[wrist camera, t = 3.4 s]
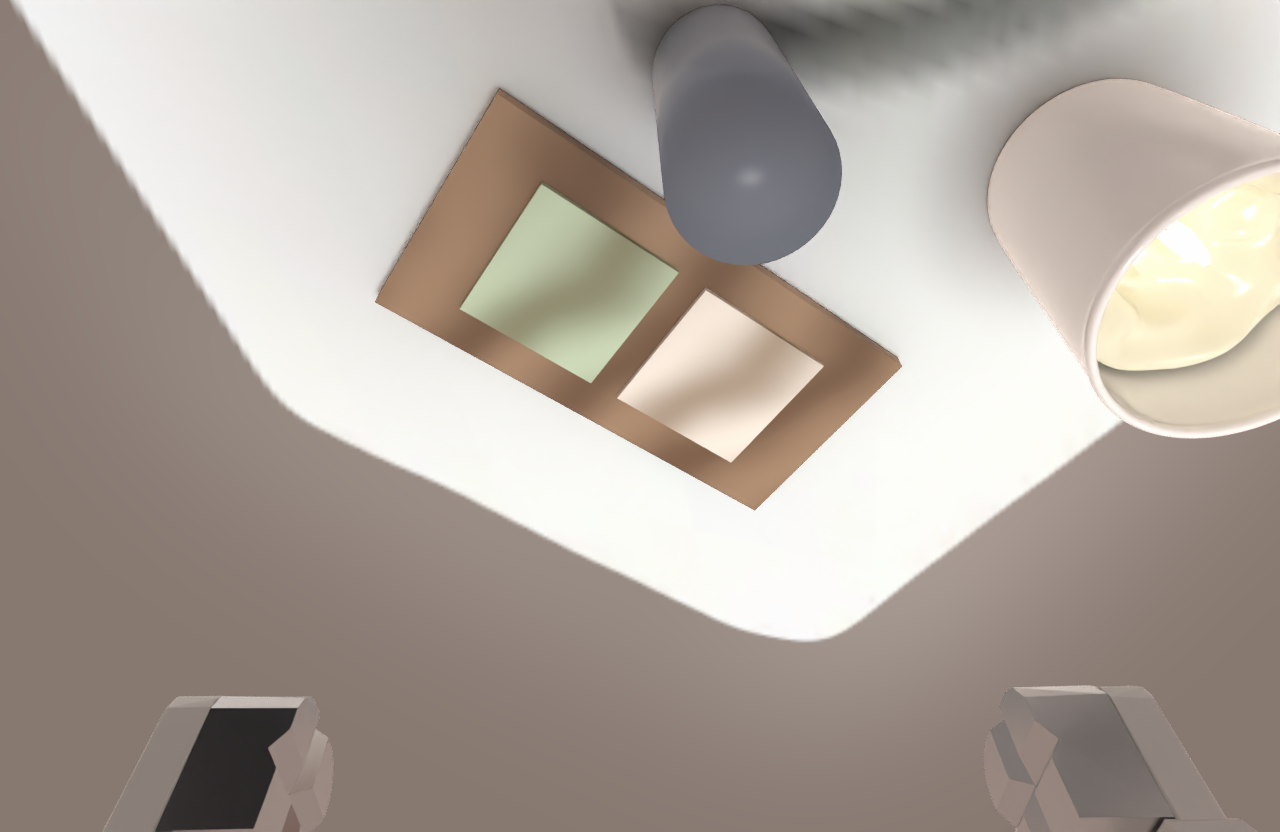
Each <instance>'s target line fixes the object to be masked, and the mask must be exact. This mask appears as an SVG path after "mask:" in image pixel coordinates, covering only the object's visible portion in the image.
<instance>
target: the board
mask: <svg viewBox="0 0 1280 832" xmlns="http://www.w3.org/2000/svg"><path fill="white" fill-rule="evenodd" d="M375 302H376V303H378V304H380V305H381V306H383V307H385V308H387V309H389V310H390V311H392V312H394V313H396V314H398V315H400V316H401V317H403V318H405V319H407V320H409V321H411V322H412V323H414V324H416V325H418V326H420V327H421V328H423V329H425V330H427V331H429V332H431V333H432V334H434V335H436V336H438V337H440V338H442V339H443V340H445V341H447V342H449V343H451V344H452V345H454V346H456V347H458V348H460V349H462V350H463V351H465V352H467V353H469V354H471V355H472V356H474V357H476V358H478V359H480V360H482V361H483V362H485V363H487V364H489V365H491V366H493V367H494V368H496V369H498V370H500V371H502V372H503V373H505V374H507V375H509V376H511V377H513V378H514V379H516V380H518V381H520V382H522V383H524V384H525V385H527V386H529V387H531V388H533V389H534V390H536V391H538V392H540V393H542V394H544V395H545V396H547V397H549V398H551V399H553V400H555V401H556V402H558V403H560V404H562V405H564V406H565V407H567V408H569V409H571V410H573V411H575V412H576V413H578V414H580V415H582V416H584V417H585V418H587V419H589V420H591V421H593V422H595V423H596V424H598V425H600V426H602V427H604V428H606V429H607V430H609V431H611V432H613V433H615V434H616V435H618V436H620V437H622V438H624V439H626V440H627V441H629V442H631V443H633V444H635V445H637V446H638V447H640V448H642V449H644V450H646V451H647V452H649V453H651V454H653V455H655V456H657V457H658V458H660V459H662V460H664V461H666V462H668V463H669V464H671V465H673V466H675V467H677V468H678V469H680V470H682V471H684V472H686V473H688V474H689V475H691V476H693V477H695V478H697V479H699V480H700V481H702V482H704V483H706V484H708V485H709V486H711V487H713V488H715V489H717V490H719V491H720V492H722V493H724V494H726V495H728V496H729V497H731V498H733V499H735V500H737V501H739V502H740V503H742V504H744V505H746V506H748V507H750V508H751V509H753V510H756V509H757V508H758V507H759V506H760V505H761V504H762V503H763V502H764V501H765V500H766V499H767V498H768V497H769V496H770V495H771V494H772V493H773V492H774V491H775V490H776V489H777V488H778V487H779V486H780V485H781V484H782V483H783V482H784V481H785V480H786V479H787V478H788V477H789V476H790V475H791V474H793V473H794V472H795V471H796V470H797V469H798V468H799V467H800V466H801V465H802V464H803V463H804V462H805V461H806V460H807V459H808V458H809V457H810V456H811V455H812V454H813V453H814V452H815V451H816V450H817V449H818V448H819V447H820V446H821V445H822V444H823V443H824V442H825V441H826V440H827V439H828V438H829V437H830V436H831V435H832V434H833V433H834V432H836V431H837V430H838V429H839V428H840V427H841V426H842V425H843V424H844V423H845V422H846V421H847V420H848V419H849V418H850V417H851V416H852V415H853V414H854V413H855V412H856V411H857V410H858V409H859V408H860V407H861V406H862V405H863V404H864V403H865V402H866V401H867V400H868V399H869V398H870V397H871V396H872V395H873V394H874V393H875V392H876V391H877V390H878V389H880V388H881V387H882V386H883V385H884V384H885V383H886V382H887V381H888V380H889V379H890V378H891V377H892V376H893V375H894V374H895V373H896V372H897V371H898V370H899V369H900V368H901V367H902V365H901V363H900V361H899V359H898V358H897V357H896V356H894V355H893V354H892V353H890V352H889V351H887V350H886V349H884V348H883V347H881V346H880V345H878V344H877V343H875V342H874V341H872V340H871V339H869V338H868V337H866V336H865V335H863V334H862V333H860V332H859V331H857V330H856V329H855V328H853V327H852V326H850V325H849V324H847V323H846V322H844V321H843V320H841V319H840V318H838V317H837V316H835V315H834V314H832V313H831V312H829V311H828V310H826V309H825V308H823V307H822V306H821V305H819V304H818V303H816V302H815V301H813V300H812V299H810V298H809V297H807V296H806V295H804V294H803V293H801V292H800V291H798V290H797V289H795V288H794V287H792V286H791V285H789V284H788V283H787V282H785V281H784V280H782V279H781V278H779V277H778V276H776V275H775V274H773V273H772V272H770V271H769V270H767V269H766V268H764V267H763V266H761V265H760V264H757V265H734V264H728V263H723V262H720V261H717V260H714V259H712V258H710V257H707V256H705V255H703V254H702V253H700V252H699V251H697V250H696V249H694V248H693V247H692V246H691V245H690V244H688V243H687V242H686V241H685V240H684V238H683V237H682V236H681V235H680V234H679V232H678V231H677V229H676V228H675V226H674V225H673V223H672V221H671V219H670V216H669V214H668V211H667V208H666V204H665V200H664V199H662V198H661V197H659V196H658V195H656V194H655V193H653V192H652V191H650V190H649V189H648V188H646V187H645V186H643V185H642V184H640V183H639V182H637V181H636V180H634V179H633V178H631V177H630V176H628V175H627V174H625V173H624V172H622V171H621V170H619V169H618V168H616V167H615V166H614V165H612V164H611V163H609V162H608V161H606V160H605V159H603V158H602V157H600V156H599V155H597V154H596V153H594V152H593V151H591V150H590V149H588V148H587V147H585V146H584V145H582V144H581V143H580V142H578V141H577V140H575V139H574V138H572V137H571V136H569V135H568V134H566V133H565V132H563V131H562V130H560V129H559V128H557V127H556V126H554V125H553V124H551V123H550V122H548V121H547V120H545V119H544V118H543V117H541V116H540V115H538V114H537V113H535V112H534V111H532V110H531V109H529V108H528V107H526V106H525V105H523V104H522V103H520V102H519V101H517V100H516V99H514V98H513V97H511V96H510V95H509V94H507V93H506V92H504V91H503V90H501V89H500V88H499V90H498V92H497V94H496V95H495V97H494V99H493V100H492V102H491V104H490V105H489V107H488V109H487V111H486V112H485V114H484V116H483V117H482V119H481V121H480V122H479V124H478V126H477V128H476V129H475V131H474V133H473V134H472V136H471V138H470V140H469V141H468V143H467V145H466V146H465V148H464V150H463V151H462V153H461V155H460V157H459V158H458V160H457V162H456V163H455V165H454V167H453V168H452V170H451V172H450V174H449V175H448V177H447V179H446V180H445V182H444V184H443V185H442V187H441V189H440V191H439V192H438V194H437V196H436V197H435V199H434V201H433V202H432V204H431V206H430V208H429V209H428V211H427V213H426V214H425V216H424V218H423V220H422V221H421V223H420V225H419V226H418V228H417V230H416V231H415V233H414V235H413V237H412V238H411V240H410V242H409V243H408V245H407V247H406V248H405V250H404V252H403V254H402V255H401V257H400V259H399V260H398V262H397V264H396V265H395V267H394V269H393V271H392V272H391V274H390V276H389V277H388V279H387V281H386V282H385V284H384V286H383V288H382V289H381V291H380V293H379V295H378V297H377V299H376V301H375Z"/></svg>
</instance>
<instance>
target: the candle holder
mask: <svg viewBox="0 0 1280 832" xmlns="http://www.w3.org/2000/svg"><path fill="white" fill-rule="evenodd" d="M988 214H989V219H990V223H991V226H992V229H993V231H994V234H995V236H996V238H997V240H998V241H999V243H1000V245H1001V247H1002V248H1003V250H1004V251H1005V253H1006V255H1007V256H1008V258H1009V259H1010V261H1011V262H1012V264H1013V265H1014V267H1015V268H1016V270H1017V271H1018V273H1019V274H1020V276H1021V277H1022V279H1023V280H1024V282H1025V283H1026V285H1027V286H1028V288H1029V289H1030V291H1031V292H1032V294H1033V295H1034V297H1035V298H1036V300H1037V301H1038V303H1039V304H1040V306H1041V307H1042V309H1043V310H1044V312H1045V313H1046V315H1047V316H1048V318H1049V319H1050V321H1051V322H1052V324H1053V325H1054V327H1055V328H1056V330H1057V331H1058V333H1059V334H1060V336H1061V337H1062V339H1063V340H1064V342H1065V343H1066V345H1067V346H1068V348H1069V349H1070V351H1071V352H1072V354H1073V355H1074V357H1075V358H1076V360H1077V361H1078V363H1079V364H1080V366H1081V367H1082V369H1083V370H1084V372H1085V373H1086V375H1087V376H1088V378H1089V381H1090V383H1091V385H1092V387H1093V389H1094V391H1095V392H1096V394H1097V395H1098V397H1099V398H1100V400H1101V401H1102V402H1103V403H1104V404H1105V406H1106V407H1107V408H1108V409H1109V410H1110V411H1111V412H1113V413H1114V414H1115V415H1116V416H1118V417H1119V418H1120V419H1122V420H1123V421H1125V422H1127V423H1129V424H1130V425H1132V426H1134V427H1136V428H1138V429H1141V430H1144V431H1147V432H1150V433H1153V434H1157V435H1162V436H1167V437H1176V438H1208V437H1217V436H1224V435H1229V434H1234V433H1239V432H1243V431H1246V430H1250V429H1253V428H1256V427H1259V426H1262V425H1265V424H1268V423H1271V422H1273V421H1276V420H1278V419H1280V133H1277V132H1275V131H1272V130H1270V129H1267V128H1265V127H1262V126H1260V125H1257V124H1255V123H1252V122H1250V121H1247V120H1245V119H1242V118H1239V117H1237V116H1234V115H1232V114H1229V113H1227V112H1224V111H1222V110H1219V109H1217V108H1214V107H1212V106H1209V105H1206V104H1204V103H1201V102H1199V101H1196V100H1194V99H1191V98H1189V97H1186V96H1183V95H1181V94H1178V93H1175V92H1173V91H1170V90H1167V89H1165V88H1162V87H1159V86H1156V85H1153V84H1150V83H1146V82H1142V81H1137V80H1131V79H1106V80H1099V81H1094V82H1090V83H1086V84H1083V85H1080V86H1077V87H1075V88H1072V89H1070V90H1068V91H1065V92H1063V93H1061V94H1060V95H1058V96H1056V97H1054V98H1053V99H1051V100H1049V101H1048V102H1046V103H1045V104H1044V105H1042V106H1041V107H1040V108H1038V109H1037V110H1036V111H1035V112H1033V113H1032V114H1031V115H1030V116H1029V117H1028V118H1027V119H1026V120H1025V121H1024V122H1023V123H1022V124H1021V125H1020V126H1019V127H1018V128H1017V129H1016V131H1015V132H1014V133H1013V134H1012V136H1011V137H1010V138H1009V140H1008V141H1007V143H1006V144H1005V146H1004V148H1003V149H1002V151H1001V153H1000V155H999V157H998V159H997V161H996V164H995V166H994V169H993V172H992V175H991V178H990V183H989V188H988Z"/></svg>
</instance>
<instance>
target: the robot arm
mask: <svg viewBox="0 0 1280 832" xmlns="http://www.w3.org/2000/svg"><path fill="white" fill-rule="evenodd" d="M999 708H1000V710H1001V713H1002V715H1003V718H1004V720H1003V721H1002V722H1000V723H999V724H998V725H996V726H995V727H993V728H992V729H990V731H989V734H988V737H987V740H986V743H985V746H984V771H985V776H986V780H987V785H988V790H989V792H990V795H991V798H992V801H993V803H994V806H995V809H996V811H998V812H999V813H1000V814H1001V815H1002V816H1003V817H1004V818H1005V819H1006V820H1007V821H1008V822H1009V823H1011V824H1012V825H1013V826H1014V827H1015V828H1016V829H1015V832H1257V831H1255V830H1254V829H1253V828H1252V827H1250V826H1249V825H1248V824H1246V823H1245V822H1244V821H1242V820H1241V819H1235V818H1226V817H1225V815H1224V813H1223V812H1222V810H1221V808H1220V807H1219V805H1218V803H1217V802H1216V800H1215V798H1214V797H1213V795H1212V793H1211V792H1210V790H1209V789H1208V787H1207V785H1206V783H1205V782H1204V780H1203V779H1202V777H1201V775H1200V774H1199V772H1198V770H1197V769H1196V767H1195V765H1194V764H1193V762H1192V760H1191V759H1190V757H1189V756H1188V754H1187V752H1186V750H1185V749H1184V747H1183V746H1182V744H1181V742H1180V741H1179V739H1178V737H1177V736H1176V734H1175V732H1174V731H1173V729H1172V728H1171V726H1170V724H1169V722H1168V721H1167V719H1166V718H1165V716H1164V714H1163V712H1162V711H1161V709H1160V708H1159V706H1158V704H1157V703H1156V701H1155V699H1154V698H1153V696H1152V695H1151V694H1150V693H1149V692H1147V690H1145V689H1144V688H1143V687H1140V686H1110V687H1094V686H1092V685H1091V686H1059V687H1058V686H1055V687H1018V688H1011V689H1010V690H1008V691H1007V692H1005V694H1004V696H1003V698H1002V700H1001V703H1000V705H999ZM319 717H320V712H319V710H318V708H317V705H316V703H315V700H314V698H313V697H240V696H237V697H236V696H235V697H234V696H229V697H228V696H179V697H177V698H176V699H175V700H174V701H173V702H172V703H171V704H170V705H169V706H168V707H167V708H166V709H165V710H164V712H163V714H162V716H161V718H160V720H159V722H158V724H157V725H156V727H155V729H154V731H153V734H152V736H151V737H150V739H149V741H148V743H147V745H146V747H145V749H144V751H143V753H142V755H141V757H140V759H139V761H138V763H137V765H136V767H135V769H134V771H133V773H132V775H131V776H130V779H129V781H128V782H127V784H126V786H125V788H124V790H123V792H122V794H121V796H120V798H119V800H118V802H117V804H116V806H115V808H114V810H113V812H112V814H111V816H110V818H109V820H108V822H107V824H106V826H105V827H104V830H103V831H102V832H312V831H313V829H314V828H316V827H317V826H318V825H319V824H320V823H321V822H322V821H323V820H324V817H325V814H326V810H327V807H328V803H329V799H330V796H331V788H332V780H333V771H334V765H333V753H332V748H331V745H330V742H329V739H328V737H326V736H325V735H323V734H322V733H321V732H319V731H318V730H316V726H317V723H318V720H319Z"/></svg>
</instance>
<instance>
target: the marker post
mask: <svg viewBox="0 0 1280 832" xmlns="http://www.w3.org/2000/svg"><path fill="white" fill-rule="evenodd" d="M652 83H653V93H654V103H655V112H656V122H657V132H658V142H659V152H660V162H661V172H662V182H663V191H664V198H665V204H666V208H667V211H668V214H669V216H670V219H671V221H672V223H673V225H674V226H675V228H676V229H677V231H678V232H679V234H680V235H681V236H682V237H683V238H684V240H685V241H686V242H687V243H688V244H690V245H691V246H692V247H693V248H694V249H696V250H697V251H699V252H700V253H702V254H703V255H705V256H707V257H710V258H712V259H714V260H717V261H720V262H723V263H728V264H734V265H757V264H763V263H768V262H771V261H775V260H778V259H780V258H782V257H785V256H787V255H789V254H791V253H793V252H794V251H796V250H798V249H799V248H801V247H802V246H803V245H805V244H806V243H807V242H808V241H810V240H811V239H812V238H813V237H814V236H815V235H816V234H817V233H818V231H819V230H820V229H821V228H822V227H823V225H824V224H825V222H826V221H827V219H828V218H829V216H830V214H831V212H832V210H833V209H834V206H835V204H836V201H837V198H838V195H839V191H840V186H841V177H842V166H841V158H840V152H839V149H838V146H837V143H836V140H835V138H834V136H833V134H832V132H831V130H830V129H829V127H828V126H827V124H826V122H825V121H824V119H823V118H822V116H821V114H820V113H819V111H818V110H817V108H816V106H815V105H814V103H813V102H812V100H811V98H810V97H809V95H808V94H807V92H806V90H805V89H804V87H803V86H802V84H801V82H800V81H799V79H798V78H797V76H796V75H795V73H794V71H793V70H792V68H791V67H790V65H789V63H788V62H787V60H786V59H785V57H784V55H783V54H782V52H781V51H780V49H779V47H778V46H777V44H776V43H775V41H774V39H773V38H772V36H771V35H770V33H769V32H768V30H767V29H766V27H765V26H764V25H763V24H762V23H761V22H760V21H759V20H758V19H757V18H755V17H754V16H753V15H751V14H750V13H748V12H746V11H744V10H742V9H739V8H737V7H733V6H728V5H710V6H705V7H701V8H698V9H695V10H693V11H691V12H689V13H687V14H686V15H684V16H683V17H681V18H680V19H678V20H677V21H676V22H675V23H674V24H673V25H672V26H671V27H670V28H669V29H668V31H667V32H666V33H665V35H664V36H663V38H662V39H661V41H660V43H659V45H658V48H657V50H656V53H655V56H654V61H653V68H652Z"/></svg>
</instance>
